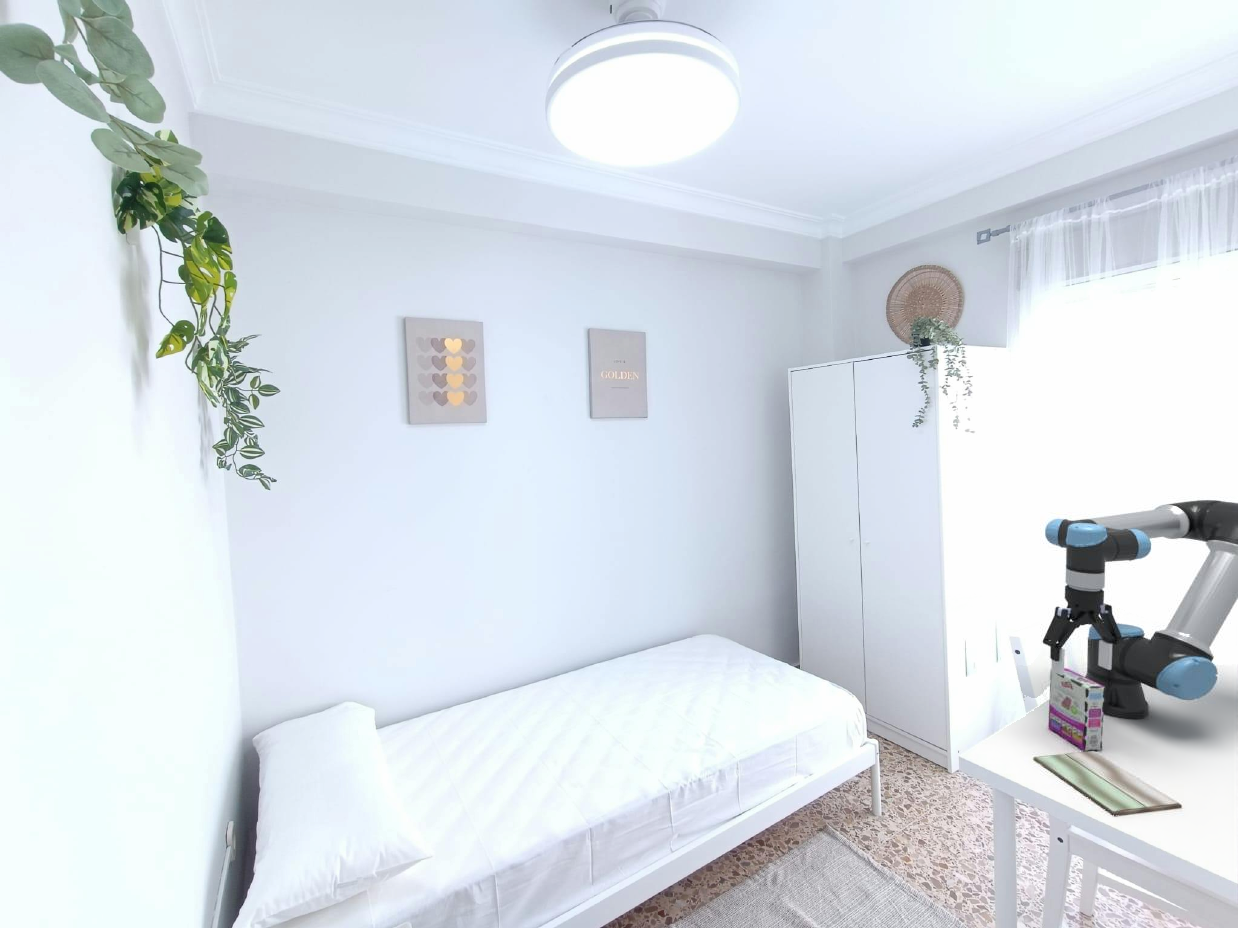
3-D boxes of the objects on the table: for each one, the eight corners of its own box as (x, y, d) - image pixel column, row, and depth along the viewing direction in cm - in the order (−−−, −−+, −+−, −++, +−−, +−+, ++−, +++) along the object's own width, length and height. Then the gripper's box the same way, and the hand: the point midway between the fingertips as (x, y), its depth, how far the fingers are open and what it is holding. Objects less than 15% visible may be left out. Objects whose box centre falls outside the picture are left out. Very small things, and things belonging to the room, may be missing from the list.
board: (1092, 752, 141) (1092, 749, 141) (1181, 807, 122) (1181, 803, 122) (1033, 759, 140) (1033, 756, 139) (1113, 815, 120) (1114, 812, 120)
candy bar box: (1103, 751, 142) (1106, 686, 141) (1084, 752, 142) (1087, 687, 140) (1064, 726, 153) (1067, 666, 152) (1047, 728, 153) (1049, 668, 152)
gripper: (1112, 578, 148) (1109, 658, 150) (1026, 586, 145) (1024, 668, 146) (1143, 587, 141) (1139, 671, 143) (1053, 595, 137) (1051, 681, 139)
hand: (1081, 670), depth 145 cm, fingers open, 13 cm apart
